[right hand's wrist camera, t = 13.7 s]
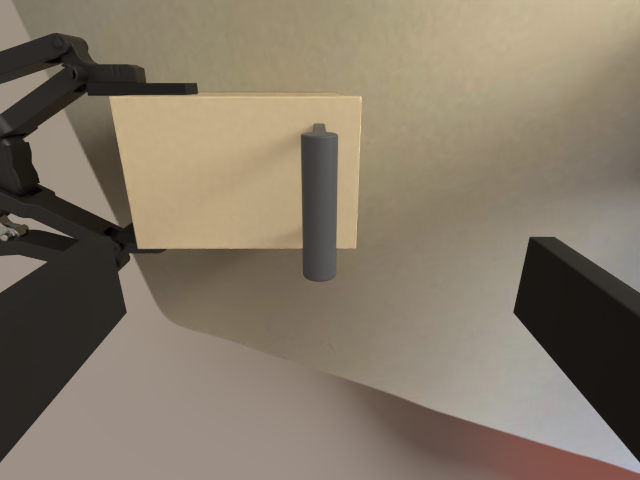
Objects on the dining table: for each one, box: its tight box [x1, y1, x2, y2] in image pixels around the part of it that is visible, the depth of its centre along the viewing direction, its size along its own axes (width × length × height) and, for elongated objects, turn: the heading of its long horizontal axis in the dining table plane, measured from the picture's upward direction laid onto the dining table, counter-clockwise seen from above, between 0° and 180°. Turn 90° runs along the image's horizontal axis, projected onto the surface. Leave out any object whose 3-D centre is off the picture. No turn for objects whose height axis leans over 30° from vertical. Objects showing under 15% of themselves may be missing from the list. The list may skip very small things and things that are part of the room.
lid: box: [109, 96, 362, 282], centre depth 22 cm, size 15×10×8 cm, turn 90°
